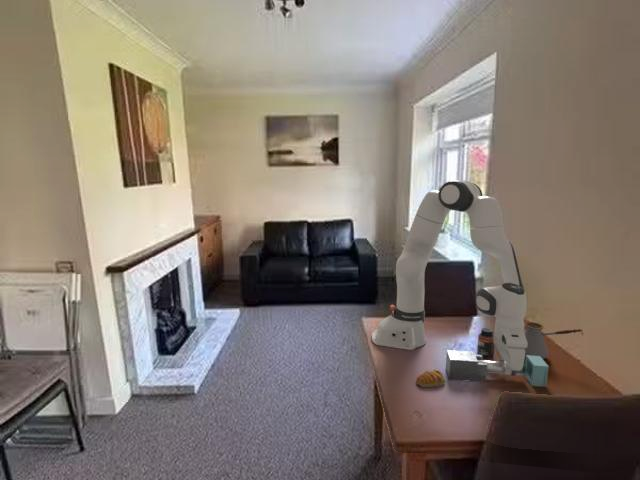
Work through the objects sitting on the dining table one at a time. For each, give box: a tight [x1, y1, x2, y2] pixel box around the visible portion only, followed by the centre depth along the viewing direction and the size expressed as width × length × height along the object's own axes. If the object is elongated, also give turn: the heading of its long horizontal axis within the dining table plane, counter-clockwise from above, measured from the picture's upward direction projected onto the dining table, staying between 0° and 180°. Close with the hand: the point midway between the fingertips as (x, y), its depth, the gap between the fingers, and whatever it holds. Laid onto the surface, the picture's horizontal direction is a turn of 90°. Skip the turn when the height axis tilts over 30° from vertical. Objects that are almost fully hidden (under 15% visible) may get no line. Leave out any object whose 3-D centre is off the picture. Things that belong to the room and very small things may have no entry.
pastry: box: [415, 369, 446, 388], centre depth 134 cm, size 9×7×4 cm
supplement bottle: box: [476, 327, 496, 361], centre depth 151 cm, size 6×6×11 cm
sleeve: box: [445, 349, 488, 383], centre depth 138 cm, size 12×7×7 cm, turn 82°
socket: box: [524, 355, 550, 388], centre depth 135 cm, size 4×7×7 cm, turn 172°
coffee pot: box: [524, 321, 584, 360], centre depth 148 cm, size 21×12×15 cm, turn 53°
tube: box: [478, 359, 526, 377], centre depth 136 cm, size 19×5×5 cm, turn 82°
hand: (505, 369), depth 136 cm, fingers closed on tube, 4 cm apart
